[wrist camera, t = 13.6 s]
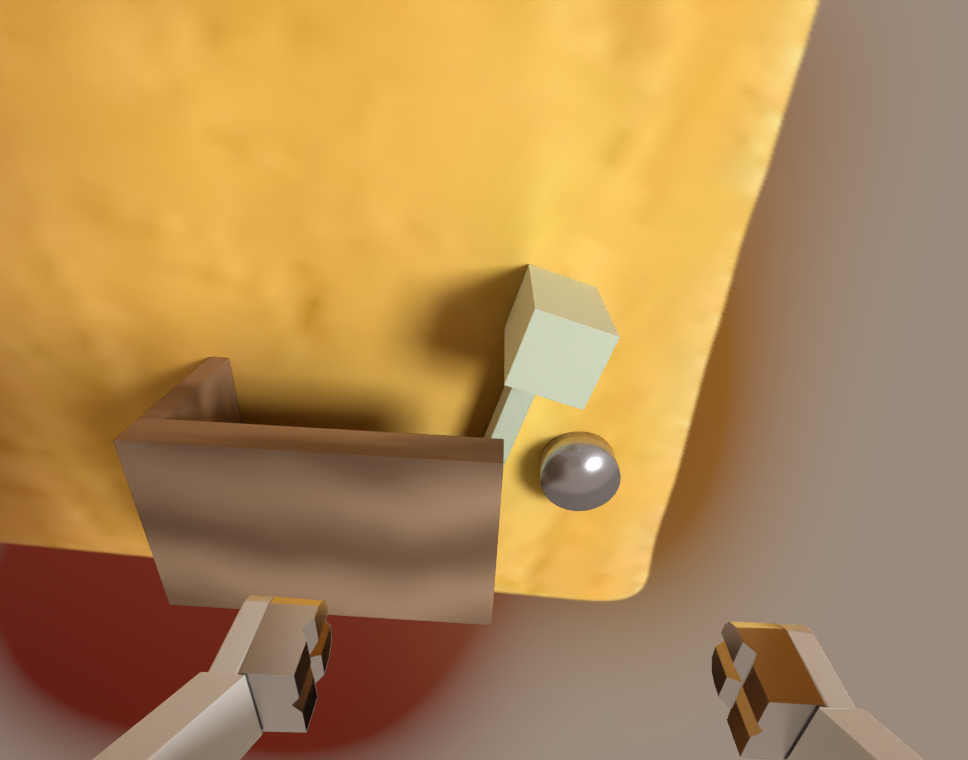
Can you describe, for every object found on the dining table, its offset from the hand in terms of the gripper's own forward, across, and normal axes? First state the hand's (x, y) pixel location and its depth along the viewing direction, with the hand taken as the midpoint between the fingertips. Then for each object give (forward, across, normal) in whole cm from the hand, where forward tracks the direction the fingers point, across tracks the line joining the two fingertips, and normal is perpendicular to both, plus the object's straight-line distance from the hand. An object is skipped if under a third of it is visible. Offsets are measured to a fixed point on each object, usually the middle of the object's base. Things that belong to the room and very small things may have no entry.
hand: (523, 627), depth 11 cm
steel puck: (+21, -5, +12) cm, 25 cm away
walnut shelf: (+21, +9, +11) cm, 26 cm away
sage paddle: (+21, -1, +7) cm, 23 cm away
